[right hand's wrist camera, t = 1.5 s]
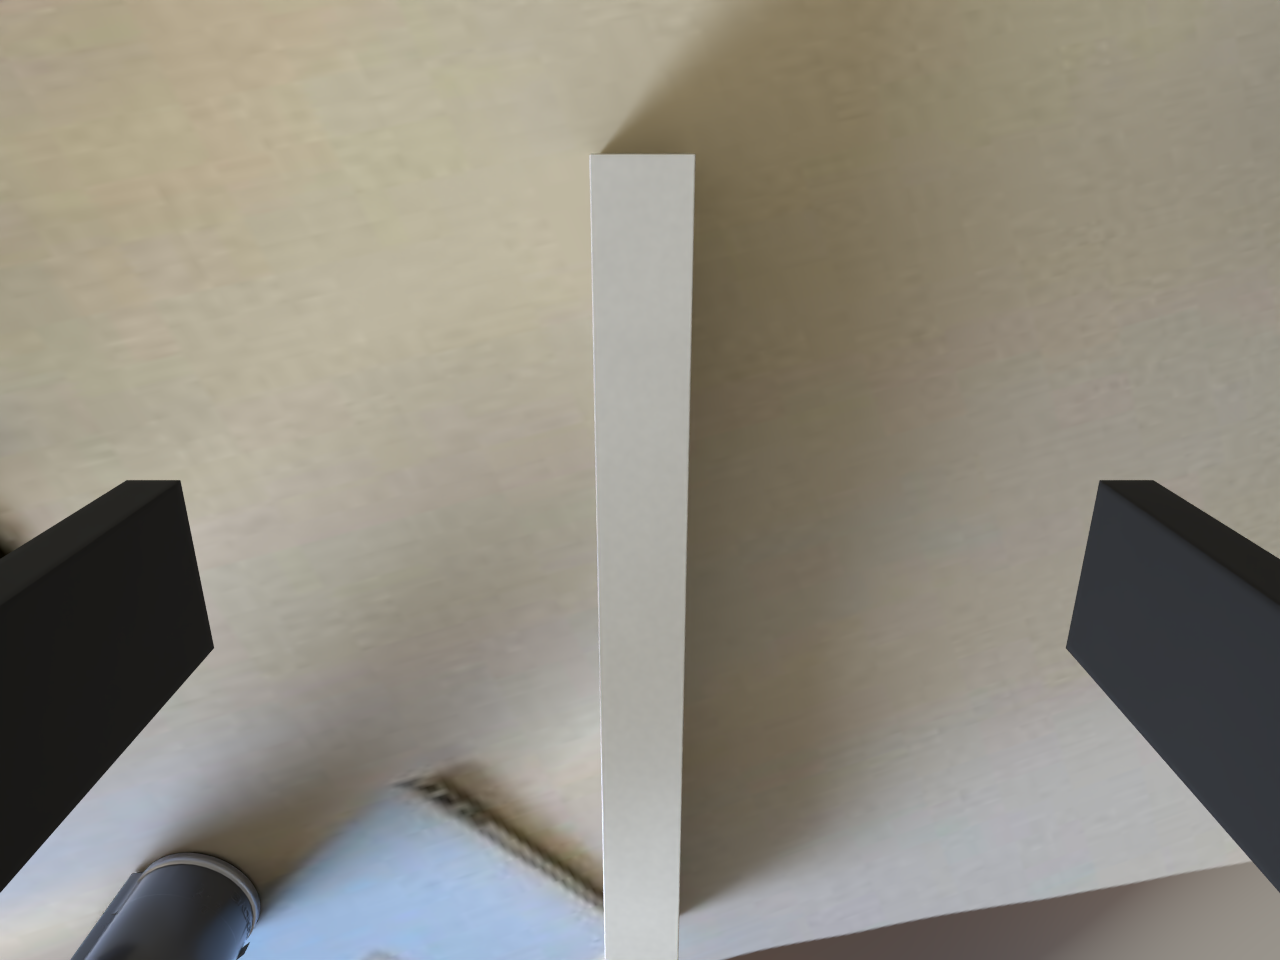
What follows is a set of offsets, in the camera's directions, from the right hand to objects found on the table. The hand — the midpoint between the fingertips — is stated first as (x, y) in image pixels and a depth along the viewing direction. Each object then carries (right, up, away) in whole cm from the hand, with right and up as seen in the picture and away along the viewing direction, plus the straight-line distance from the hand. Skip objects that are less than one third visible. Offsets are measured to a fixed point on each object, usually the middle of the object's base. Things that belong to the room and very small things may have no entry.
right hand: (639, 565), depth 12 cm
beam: (0, -7, +45) cm, 46 cm away
